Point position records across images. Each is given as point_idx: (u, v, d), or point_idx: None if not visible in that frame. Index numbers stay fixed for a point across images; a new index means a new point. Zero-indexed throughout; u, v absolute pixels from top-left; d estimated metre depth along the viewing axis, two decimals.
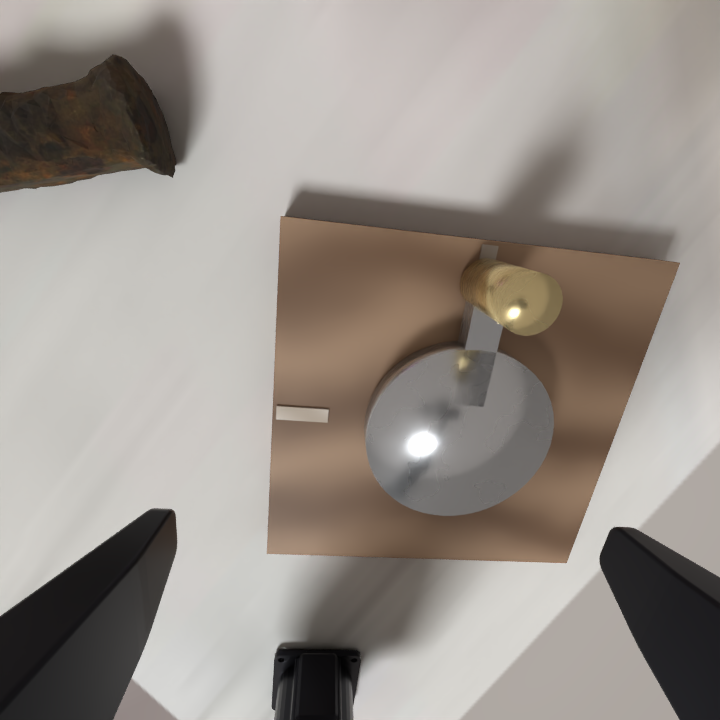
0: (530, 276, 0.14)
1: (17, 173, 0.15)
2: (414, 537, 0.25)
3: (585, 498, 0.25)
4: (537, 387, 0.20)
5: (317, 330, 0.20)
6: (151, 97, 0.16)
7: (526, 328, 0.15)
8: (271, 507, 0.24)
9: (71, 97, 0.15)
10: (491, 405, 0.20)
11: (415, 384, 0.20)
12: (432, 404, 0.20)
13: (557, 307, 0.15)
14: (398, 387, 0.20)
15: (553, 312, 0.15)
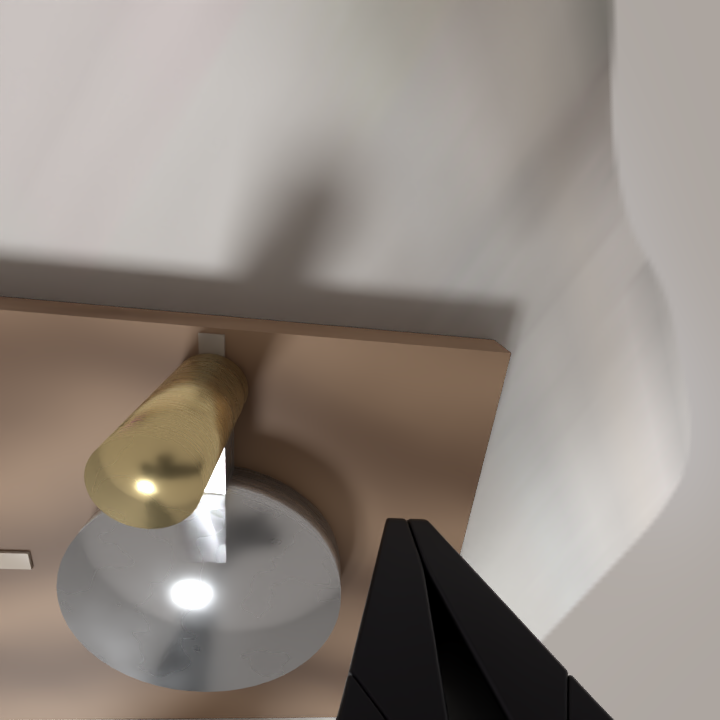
0: (123, 441, 0.08)
1: None
2: (201, 695, 0.19)
3: None
4: (302, 536, 0.14)
5: None
6: None
7: (150, 518, 0.09)
8: None
9: None
10: (237, 560, 0.14)
11: (111, 537, 0.13)
12: (146, 562, 0.14)
13: (194, 486, 0.09)
14: (85, 542, 0.13)
15: (189, 494, 0.09)
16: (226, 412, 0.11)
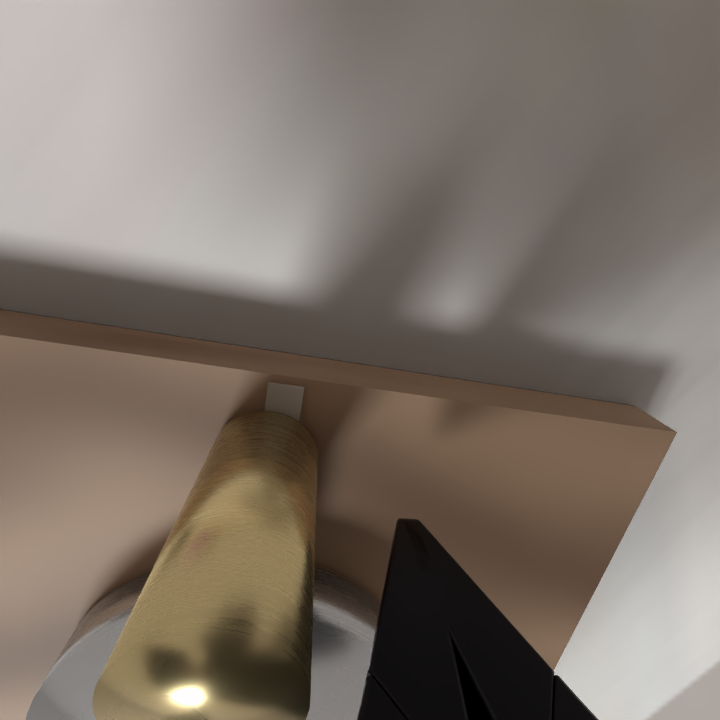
0: (177, 641, 0.04)
1: None
2: None
3: None
4: None
5: None
6: None
7: None
8: None
9: None
10: None
11: None
12: None
13: (295, 707, 0.05)
14: (71, 675, 0.09)
15: (285, 718, 0.05)
16: (312, 522, 0.07)
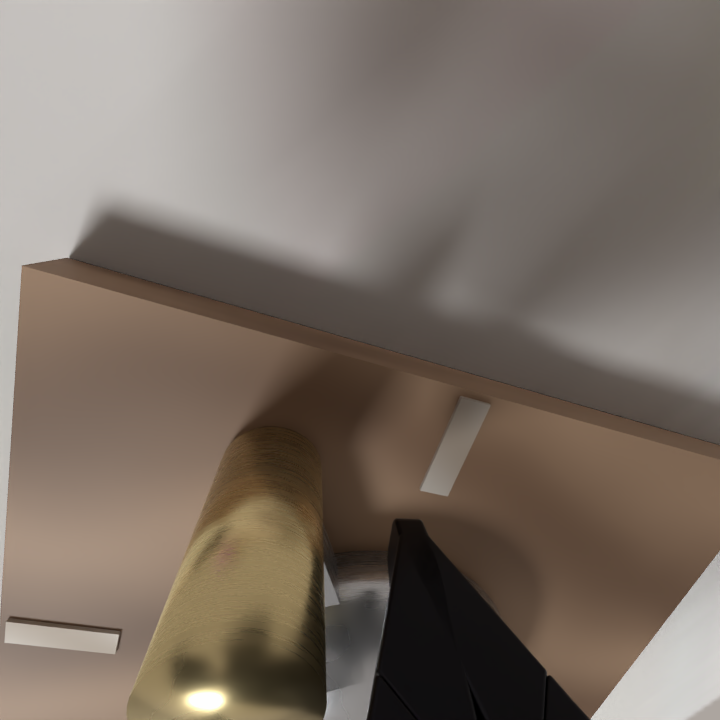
0: (170, 666, 0.05)
1: None
2: None
3: None
4: None
5: (103, 500, 0.10)
6: None
7: None
8: None
9: None
10: None
11: None
12: None
13: (310, 688, 0.05)
14: None
15: (307, 701, 0.05)
16: (308, 516, 0.07)
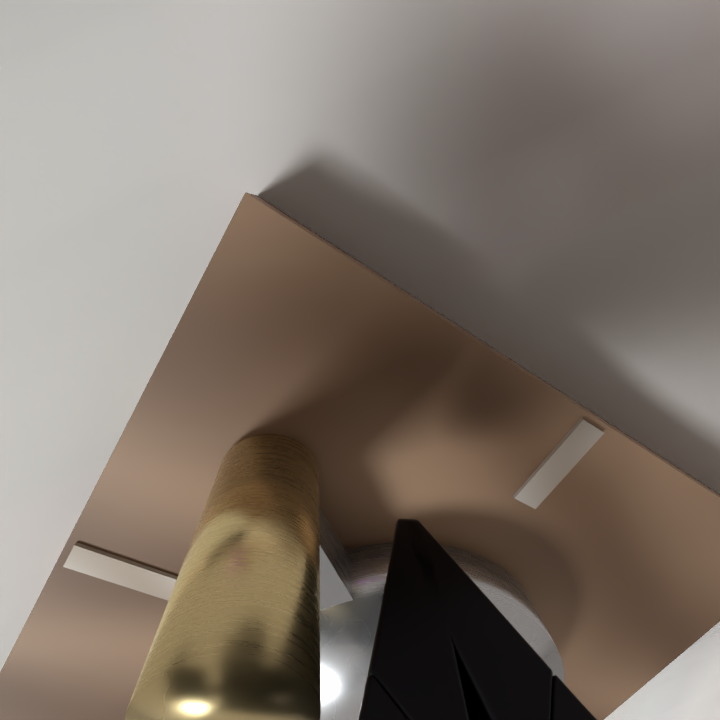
0: (157, 685, 0.05)
1: None
2: None
3: None
4: None
5: (222, 442, 0.09)
6: None
7: None
8: None
9: None
10: None
11: None
12: None
13: (299, 692, 0.05)
14: None
15: (299, 705, 0.05)
16: (297, 521, 0.07)
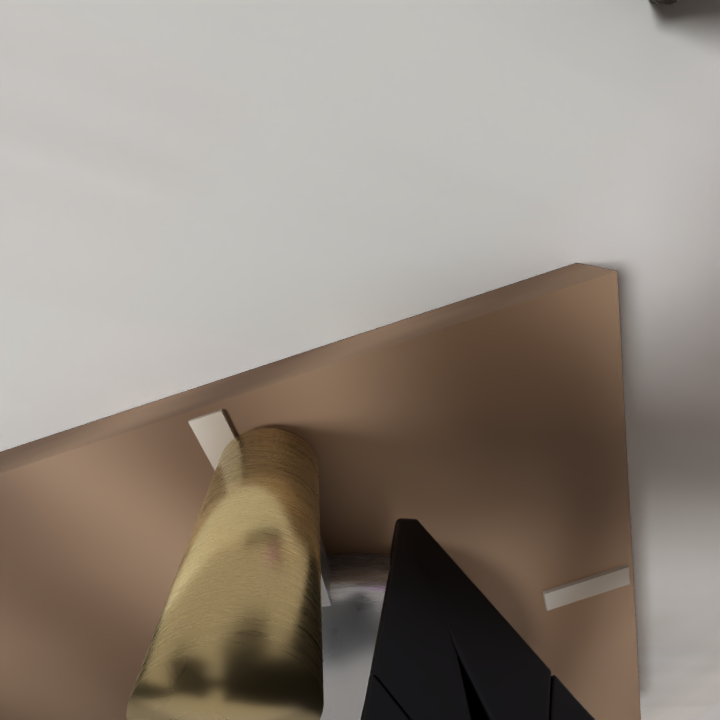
0: (173, 667, 0.05)
1: None
2: None
3: None
4: None
5: (420, 417, 0.10)
6: None
7: None
8: None
9: None
10: (369, 674, 0.10)
11: None
12: None
13: (308, 692, 0.05)
14: None
15: (304, 704, 0.05)
16: (307, 520, 0.07)
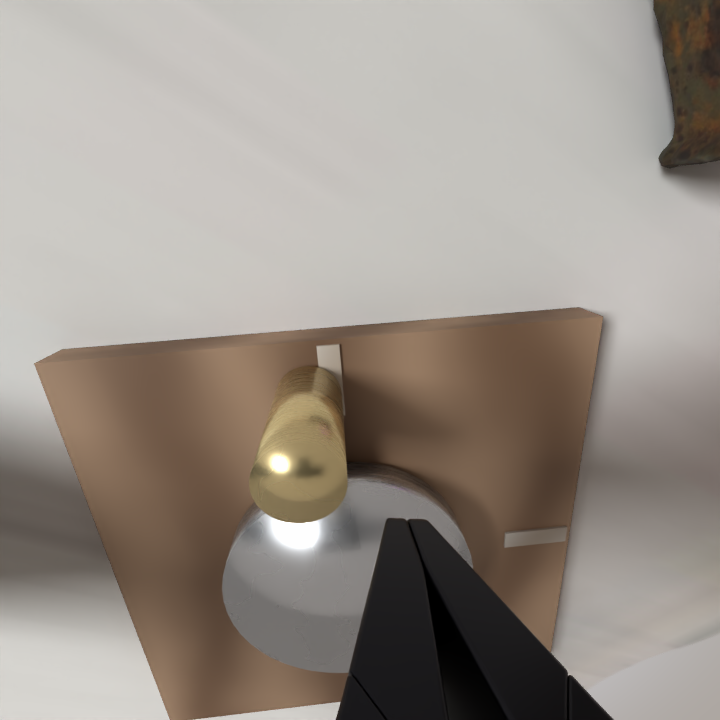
0: (275, 451, 0.09)
1: None
2: (152, 561, 0.17)
3: (273, 705, 0.21)
4: (424, 509, 0.15)
5: (459, 381, 0.15)
6: None
7: (309, 513, 0.10)
8: (142, 358, 0.14)
9: None
10: (371, 544, 0.15)
11: (259, 547, 0.15)
12: (293, 563, 0.15)
13: (340, 476, 0.10)
14: (239, 556, 0.15)
15: (337, 484, 0.10)
16: (337, 411, 0.12)
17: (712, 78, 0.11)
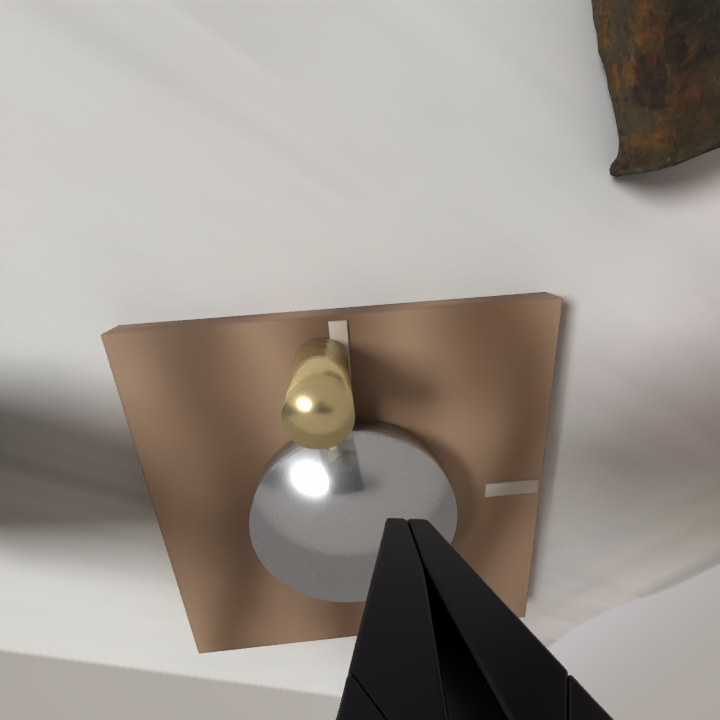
0: (301, 391, 0.13)
1: (646, 0, 0.13)
2: (188, 505, 0.20)
3: (287, 639, 0.24)
4: (415, 457, 0.18)
5: (445, 351, 0.18)
6: None
7: (325, 441, 0.13)
8: (187, 331, 0.17)
9: None
10: (372, 487, 0.18)
11: (281, 488, 0.18)
12: (308, 502, 0.18)
13: (349, 412, 0.13)
14: (264, 496, 0.18)
15: (347, 418, 0.13)
16: (346, 370, 0.15)
17: (641, 108, 0.14)
